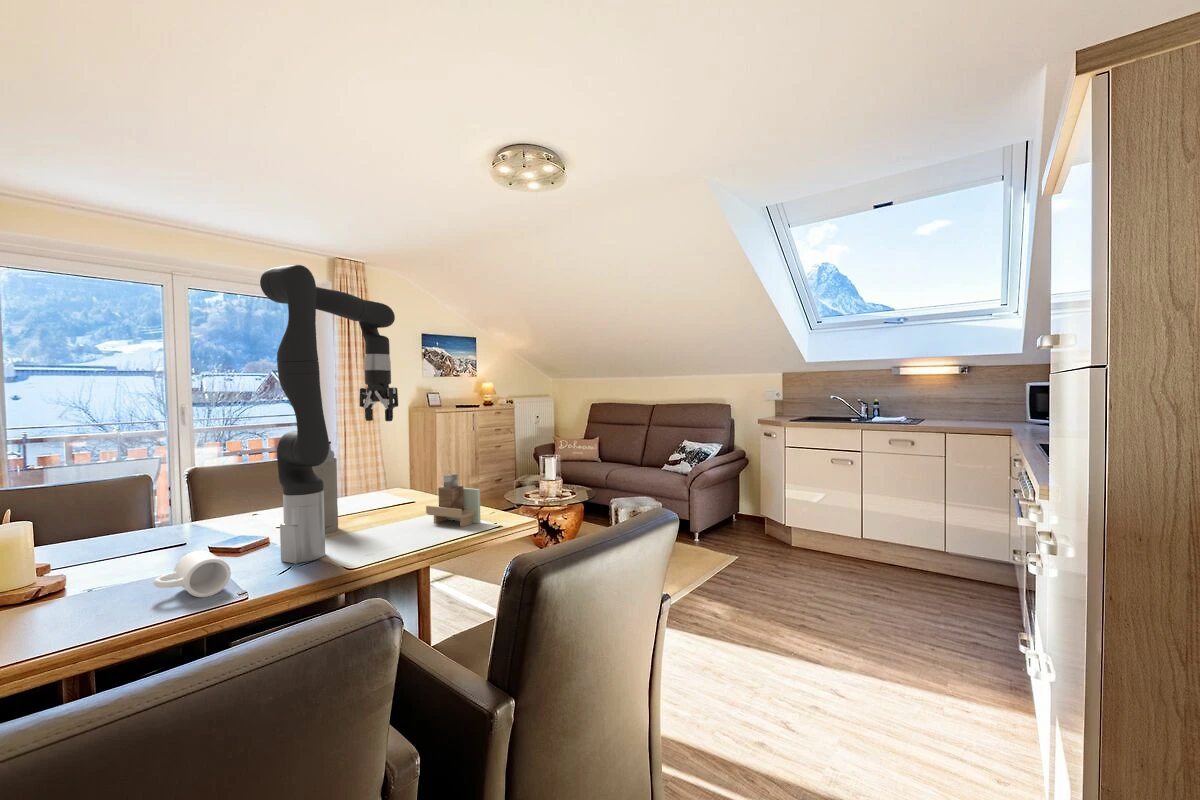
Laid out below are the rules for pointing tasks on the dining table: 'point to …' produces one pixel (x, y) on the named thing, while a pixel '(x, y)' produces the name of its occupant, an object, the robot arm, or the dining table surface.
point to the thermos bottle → (329, 490)
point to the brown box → (451, 493)
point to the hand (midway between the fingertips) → (379, 421)
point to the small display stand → (466, 516)
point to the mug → (197, 574)
